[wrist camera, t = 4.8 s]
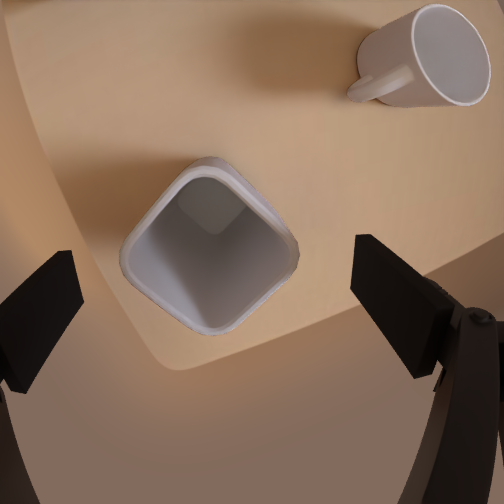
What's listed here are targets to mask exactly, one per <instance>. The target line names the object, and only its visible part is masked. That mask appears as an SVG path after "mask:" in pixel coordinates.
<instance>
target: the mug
mask: <svg viewBox="0 0 504 504" xmlns="http://www.w3.org/2000/svg"><path fill="white" fill-rule="evenodd" d="M357 65H358V71H359V74H360V77H361V79H359V80H358V81H356V82H355V83H354V84H352V85H351V86H350V87H349V88H348V91H347V95H348V98H349V99H350V100H351V101H353V102H364V101H368V100H371V99H374V98H377V99H378V100H380V101H381V102H383V103H385V104H387V105H390V106H394V107H403V108H408V107H437V106H471V105H474V104H476V103H478V102H479V101H480V100H481V99H482V98H483V97H484V96H485V94H486V92H487V90H488V88H489V84H490V78H491V67H490V60H489V56H488V52H487V49H486V46H485V44H484V42H483V40H482V38H481V36H480V34H479V33H478V31H477V30H476V28H475V27H474V26H473V25H472V23H471V22H470V21H469V20H468V19H467V18H466V17H465V16H463V15H462V14H461V13H460V12H458V11H456V10H455V9H453V8H451V7H449V6H446V5H442V4H428V5H425V6H423V7H421V8H419V9H417V10H415V11H413V12H411V13H409V14H407V15H405V16H403V17H401V18H399V19H397V20H395V21H393V22H391V23H389V24H387V25H385V26H383V27H381V28H380V29H378V30H376V31H374V32H372V33H371V34H370V35H368V36H367V37H366V38H365V39H364V40H363V42H362V43H361V45H360V47H359V50H358V55H357Z"/></svg>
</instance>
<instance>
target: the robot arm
mask: <svg viewBox="0 0 504 504" xmlns="http://www.w3.org/2000/svg"><path fill="white" fill-rule="evenodd" d="M350 289H351V291H352V292H353V293H354V295H355V296H356V297H357V299H358V300H359V301H360V303H361V304H362V305H363V307H364V308H365V310H366V311H367V312H368V314H369V315H370V316H371V318H372V319H373V321H374V322H375V323H376V325H377V326H378V327H379V329H380V330H381V332H382V333H383V335H384V336H385V337H386V339H387V340H388V342H389V343H390V345H391V346H392V347H393V349H394V350H395V352H396V353H397V355H398V356H399V358H400V359H401V360H402V362H403V363H404V365H405V366H406V368H407V369H408V370H409V372H410V374H411V375H412V376H413V378H414V379H416V378H420V377H424V376H427V375H431V374H432V373H433V370H434V368H435V365H436V362H437V360H438V361H439V362H440V364H441V365H442V366H443V368H442V371H441V373H440V376H439V378H438V380H437V383H436V385H435V387H434V390H433V391H434V392H436V393H435V397H434V401H433V405H432V408H431V412H430V415H429V419H428V422H427V426H426V429H425V432H424V436H423V439H422V442H421V445H420V448H419V450H418V453H417V456H416V459H415V462H414V464H413V467H412V470H411V472H410V475H409V477H408V480H407V482H406V485H405V487H404V490H403V493H402V494H401V497H400V499H399V501H398V503H397V504H487V502H488V497H489V492H490V487H491V481H492V476H493V469H494V463H495V455H496V446H497V437H498V431H499V436H500V443H501V450H502V456H503V465H504V321H496V319H495V317H494V316H493V315H492V314H491V313H489V312H488V311H486V310H483V309H480V308H475V307H470V308H465V307H464V306H462V305H461V304H460V303H459V302H458V301H457V300H456V299H454V298H453V297H452V296H451V295H448V292H446V291H445V290H444V289H442V287H440V286H439V285H438V284H437V283H436V282H434V281H432V280H430V279H428V278H426V277H423V276H422V275H420V274H419V273H418V272H417V271H416V270H415V269H413V268H412V267H411V266H410V265H408V264H407V263H406V262H405V261H404V260H402V259H401V258H400V257H399V256H397V255H396V254H395V253H394V252H392V251H391V250H390V249H389V248H387V247H386V246H385V245H384V244H382V243H381V242H380V241H379V240H377V239H376V238H375V237H373V236H372V235H371V234H361V235H356V236H355V247H354V258H353V268H352V277H351V286H350ZM83 303H84V300H83V296H82V292H81V289H80V285H79V281H78V277H77V273H76V269H75V264H74V260H73V256H72V251H71V250H66V251H58V252H57V253H55V254H54V255H53V256H52V257H51V258H50V259H49V260H47V261H46V262H45V263H44V264H43V265H42V266H41V267H39V268H38V269H37V270H36V271H35V272H34V273H33V274H32V275H31V276H30V277H29V278H27V279H26V280H25V281H24V282H23V283H22V284H21V285H20V286H19V287H18V288H17V289H16V290H15V291H14V292H13V293H11V295H9V296H8V297H7V298H6V299H5V300H4V301H3V302H2V303H1V304H0V383H1V382H2V380H3V379H4V380H5V381H6V383H7V385H8V387H9V388H10V390H11V391H14V392H18V393H23V394H26V393H27V391H28V389H29V388H30V386H31V384H32V382H33V381H34V379H35V377H36V376H37V374H38V372H39V371H40V369H41V367H42V366H43V364H44V362H45V361H46V359H47V358H48V356H49V354H50V353H51V351H52V349H53V348H54V346H55V345H56V343H57V342H58V340H59V339H60V337H61V336H62V334H63V333H64V331H65V329H66V328H67V326H68V325H69V323H70V322H71V320H72V319H73V318H74V316H75V314H76V313H77V312H78V310H79V309H80V307H81V306H82V304H83ZM0 504H40V502H39V500H38V498H37V495H36V493H35V491H34V488H33V486H32V483H31V481H30V478H29V476H28V473H27V471H26V468H25V465H24V462H23V459H22V457H21V453H20V451H19V447H18V444H17V441H16V438H15V434H14V431H13V427H12V424H11V420H10V417H9V412H8V408H7V404H6V400H5V395H4V392H3V390H2V388H1V386H0Z"/></svg>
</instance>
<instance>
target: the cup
mask: <svg viewBox="0 0 504 504" xmlns="http://www.w3.org/2000/svg"><path fill="white" fill-rule="evenodd" d="M299 257H300V253H299V247H298V242H297V241H296V239H295V238H294V236H293V235H292V233H291V232H290V230H289V229H288V227H287V226H286V224H285V223H284V221H283V220H282V219H281V217H280V216H279V214H278V213H277V212H276V210H275V209H274V208H273V207H272V205H271V204H270V203H269V202H268V201H267V200H266V199H265V198H264V197H263V196H262V195H261V194H260V193H259V192H258V191H257V190H256V189H255V188H254V187H252V186H251V185H250V184H249V183H248V182H247V181H246V180H245V179H244V178H243V177H242V176H241V175H240V174H239V173H238V172H236V171H235V170H234V169H233V168H232V167H231V166H230V165H229V164H228V163H227V162H225V161H224V160H222V159H220V158H218V157H212V156H209V157H205V158H201V159H198V160H196V161H195V162H194V163H192V164H191V165H190V166H188V167H187V168H186V169H184V170H183V171H182V172H181V173H180V174H179V176H178V177H177V178H176V179H175V180H174V181H173V182H172V183H171V184H170V186H169V187H168V188H167V189H166V190H165V191H164V192H163V194H162V195H161V196H160V197H159V198H158V199H157V201H156V202H155V203H154V204H153V205H152V207H151V208H150V209H149V210H148V211H147V213H146V214H145V215H144V216H143V217H142V219H141V220H140V221H139V222H138V224H137V225H136V226H135V227H134V229H133V230H132V231H131V232H130V234H129V235H128V236H127V237H126V239H125V240H124V242H123V244H122V247H121V249H120V254H119V264H120V267H121V269H122V272H123V275H124V276H125V277H126V279H127V280H128V281H129V282H130V283H131V284H132V285H133V286H134V287H135V288H136V289H138V290H139V291H140V292H142V293H143V294H144V295H145V296H147V297H148V298H149V299H151V300H152V301H153V302H154V303H156V304H157V305H158V306H160V307H161V308H162V309H164V310H165V311H166V312H168V313H169V314H170V315H172V316H173V317H174V318H176V319H177V320H178V321H180V322H181V323H183V324H184V325H185V326H187V327H188V328H190V329H191V330H193V331H195V332H198V333H200V334H203V335H211V336H215V335H220V334H225V333H227V332H229V331H231V330H232V329H234V328H236V327H237V326H238V325H239V324H240V323H241V322H242V321H244V320H245V319H246V318H247V317H248V316H249V315H250V314H251V313H252V312H253V311H255V310H256V309H257V308H258V307H259V306H260V305H261V304H262V303H263V302H264V301H265V300H267V299H268V298H269V297H270V296H271V295H272V294H273V293H274V292H275V291H276V290H277V289H278V288H279V287H281V286H282V285H283V284H284V283H285V282H286V281H287V280H288V279H289V278H290V276H291V275H292V274H293V272H294V271H295V270H296V268H297V264H298V261H299Z"/></svg>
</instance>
